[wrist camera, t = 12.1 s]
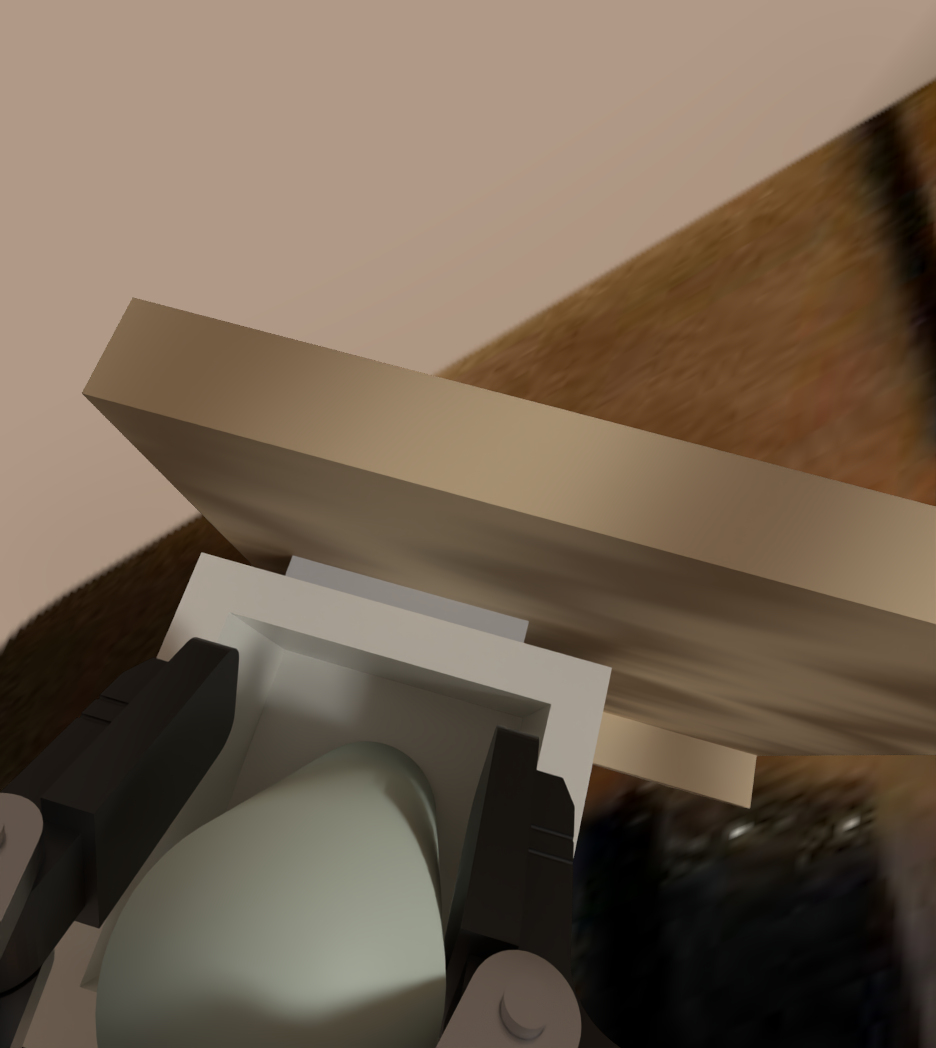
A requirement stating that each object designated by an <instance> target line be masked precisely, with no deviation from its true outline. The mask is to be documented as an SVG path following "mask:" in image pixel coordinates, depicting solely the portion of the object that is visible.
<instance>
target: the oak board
mask: <svg viewBox="0 0 936 1048" xmlns="http://www.w3.org/2000/svg"><path fill="white" fill-rule="evenodd" d="M82 394H83V395H84V396H85V397H86V398H87V399H88V400H89V401H90V402H91V403H92V404H93V405H94V406H95V407H96V408H97V409H98V410H99V411H100V412H101V413H102V414H103V415H104V416H105V417H106V418H107V419H108V420H109V421H110V422H111V423H112V424H113V425H114V426H115V427H116V428H117V429H118V430H119V431H120V432H121V433H122V434H123V435H124V436H125V437H126V438H127V439H128V440H129V441H130V442H131V443H132V444H133V445H134V446H135V447H136V448H137V449H138V450H139V451H140V452H141V453H142V454H143V455H144V456H145V457H146V458H147V459H148V460H149V461H150V462H151V463H152V464H153V465H154V466H155V467H156V468H157V469H158V470H159V471H160V472H161V473H162V474H163V475H164V476H165V477H166V478H167V479H168V480H169V481H170V483H172V485H174V487H175V488H176V489H177V490H178V491H179V492H180V493H181V494H182V495H183V496H184V497H185V498H186V499H187V500H188V501H189V502H190V503H191V504H192V505H193V506H194V507H195V508H196V509H197V510H198V511H199V512H200V513H201V514H202V515H203V516H204V517H205V518H206V519H207V520H208V521H209V522H210V523H211V524H212V525H213V526H214V527H215V528H216V529H217V530H218V531H219V532H220V533H221V534H222V535H223V536H224V537H225V538H226V539H227V540H228V541H229V542H230V543H231V544H232V545H233V546H234V547H235V548H236V549H237V550H238V551H239V552H240V553H241V554H242V555H243V556H244V557H245V558H246V559H247V560H248V561H249V562H250V563H251V564H252V565H253V566H254V567H255V568H259V569H262V570H266V571H270V572H273V573H277V574H280V575H284V576H285V575H286V572H287V569H288V567H289V564H290V561H291V559H292V556H297V557H300V558H304V559H308V560H311V561H315V562H318V563H322V564H325V565H329V566H333V567H336V568H340V569H343V570H347V571H350V572H354V573H358V574H361V575H365V576H368V577H372V578H376V579H379V580H383V581H386V582H390V583H393V584H397V585H401V586H404V587H408V588H411V589H415V590H419V591H422V592H426V593H429V594H433V595H436V596H440V597H444V598H447V599H451V600H454V601H458V602H462V603H465V604H469V605H472V606H476V607H479V608H483V609H487V610H490V611H494V612H497V613H501V614H504V615H508V616H512V617H515V618H519V619H522V620H526V621H529V623H528V627H527V631H526V635H525V639H524V643H526V644H529V645H533V646H536V647H540V648H543V649H547V650H550V651H554V652H558V653H561V654H565V655H568V656H572V657H575V658H579V659H582V660H586V661H590V662H593V663H597V664H600V665H604V666H607V667H611V668H612V670H611V675H610V680H609V685H608V690H607V695H606V700H605V704H604V709H603V714H602V719H601V724H600V729H599V734H598V739H597V744H596V749H595V754H594V759H593V764H592V765H596V766H599V767H603V768H606V769H610V770H613V771H617V772H620V773H624V774H627V775H630V776H634V777H637V778H641V779H644V780H648V781H651V782H655V783H658V784H661V785H665V786H668V787H672V788H675V789H679V790H682V791H686V792H689V793H693V794H696V795H699V796H703V797H706V798H710V799H713V800H717V801H720V802H724V803H727V804H731V805H734V806H739V807H745V808H750V803H751V795H752V788H753V780H754V772H755V764H756V756H783V755H936V507H935V506H931V505H927V504H923V503H920V502H916V501H912V500H908V499H904V498H900V497H897V496H893V495H889V494H885V493H881V492H877V491H874V490H870V489H866V488H862V487H858V486H854V485H851V484H847V483H843V482H839V481H835V480H831V479H827V478H824V477H820V476H816V475H812V474H808V473H804V472H801V471H797V470H793V469H789V468H785V467H781V466H778V465H774V464H770V463H766V462H762V461H758V460H755V459H751V458H747V457H743V456H739V455H735V454H732V453H728V452H724V451H720V450H716V449H712V448H709V447H705V446H701V445H697V444H693V443H689V442H686V441H682V440H678V439H674V438H670V437H666V436H662V435H659V434H655V433H651V432H647V431H643V430H639V429H636V428H632V427H628V426H624V425H620V424H616V423H613V422H609V421H605V420H601V419H597V418H593V417H590V416H586V415H582V414H578V413H574V412H570V411H567V410H563V409H559V408H555V407H551V406H547V405H544V404H540V403H536V402H532V401H528V400H524V399H521V398H517V397H513V396H509V395H505V394H501V393H497V392H494V391H490V390H486V389H482V388H478V387H474V386H471V385H467V384H463V383H459V382H455V381H451V380H448V379H444V378H440V377H436V376H432V375H428V374H425V373H421V372H417V371H413V370H409V369H405V368H402V367H398V366H393V365H390V364H386V363H382V362H378V361H375V360H371V359H367V358H363V357H359V356H356V355H351V354H348V353H344V352H340V351H336V350H332V349H329V348H325V347H321V346H317V345H313V344H309V343H306V342H302V341H298V340H294V339H290V338H286V337H283V336H279V335H275V334H271V333H267V332H263V331H260V330H256V329H252V328H248V327H244V326H240V325H236V324H233V323H229V322H225V321H221V320H217V319H214V318H210V317H206V316H202V315H198V314H194V313H190V312H187V311H183V310H179V309H175V308H171V307H167V306H164V305H160V304H156V303H152V302H148V301H144V300H140V299H137V298H132V300H131V302H130V304H129V306H128V307H127V309H126V311H125V313H124V315H123V317H122V319H121V321H120V323H119V324H118V326H117V328H116V330H115V332H114V334H113V336H112V338H111V340H110V341H109V343H108V345H107V347H106V349H105V351H104V353H103V355H102V356H101V358H100V360H99V362H98V364H97V366H96V368H95V370H94V371H93V373H92V375H91V377H90V379H89V381H88V383H87V385H86V387H85V388H84V390H83V392H82Z"/></svg>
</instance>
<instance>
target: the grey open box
mask: <svg viewBox="0 0 936 1048" xmlns="http://www.w3.org/2000/svg"><path fill="white" fill-rule="evenodd" d="M528 623H529V621H526V620H522V619H519V618H515V617H512V616H508V615H504V614H501V613H497V612H494V611H490V610H487V609H483V608H479V607H476V606H472V605H469V604H465V603H462V602H458V601H454V600H451V599H447V598H444V597H440V596H436V595H433V594H429V593H426V592H422V591H419V590H415V589H411V588H408V587H404V586H401V585H397V584H393V583H390V582H386V581H383V580H379V579H376V578H372V577H368V576H365V575H361V574H358V573H354V572H350V571H347V570H343V569H340V568H336V567H333V566H329V565H325V564H322V563H318V562H315V561H311V560H308V559H304V558H300V557H297V556H292V559H291V561H290V564H289V567H288V569H287V572H286V575H285V576H284V575H280V574H277V573H273V572H270V571H266V570H262V569H259V568H255V567H252V566H248V565H245V564H241V563H238V562H234V561H230V560H227V559H223V558H220V557H216V556H213V555H209V554H205V553H202V552H201V555H200V557H199V559H198V562H197V564H196V566H195V569H194V571H193V573H192V576H191V578H190V581H189V583H188V585H187V588H186V590H185V592H184V595H183V597H182V599H181V602H180V604H179V606H178V609H177V611H176V613H175V616H174V618H173V620H172V623H171V625H170V627H169V630H168V632H167V634H166V637H165V639H164V642H163V644H162V646H161V649H160V651H159V653H158V656H157V659H161V660H164V661H169V660H170V659H171V658H172V657H173V656H174V655H175V654H176V653H177V652H178V651H179V650H180V649H181V648H182V647H183V646H184V645H185V643H186V642H187V641H189V640H190V639H191V638H193V637H198V638H202V639H205V640H208V641H212V642H215V643H219V644H222V645H226V646H229V647H233V648H236V649H237V650H238V652H239V669H238V681H237V693H236V706H235V716H234V722H233V725H232V729H231V732H230V734H229V737H228V739H227V742H226V744H225V746H224V747H223V749H222V751H221V752H220V754H219V755H218V757H217V758H216V760H215V761H214V763H213V764H212V766H211V767H210V769H209V770H208V771H207V773H206V774H205V776H204V777H203V779H202V780H201V782H200V783H199V785H198V786H197V787H196V789H195V790H194V792H193V793H192V795H191V796H190V798H189V799H188V801H187V802H186V803H185V805H184V806H183V808H182V809H181V811H180V812H179V814H178V815H177V817H176V818H175V819H174V821H173V822H172V824H171V825H170V827H169V828H168V830H167V831H166V833H165V834H164V835H163V837H162V838H161V840H160V841H159V843H158V844H157V846H156V847H155V849H154V850H153V851H152V853H151V854H150V856H149V857H148V859H147V860H146V862H145V863H144V865H143V866H142V867H141V869H140V870H139V872H138V873H137V875H136V876H135V878H134V879H133V880H132V882H131V883H130V885H129V886H128V888H127V889H126V891H125V892H124V894H123V895H122V896H121V898H120V899H119V901H118V902H117V904H116V905H115V907H114V908H113V910H112V911H111V912H110V914H109V915H108V917H107V918H106V920H105V921H104V923H103V924H102V926H101V927H100V928H99V929H98V928H95V927H92V926H89V925H86V924H83V923H79V922H76V921H74V922H73V923H72V925H71V926H70V927H69V929H68V930H67V932H66V933H65V934H64V936H63V937H62V938H61V940H60V941H59V942H58V944H57V945H56V947H55V957H54V962H53V965H52V969H51V971H50V974H49V977H48V979H47V982H46V985H45V987H44V990H43V993H42V995H41V998H40V1000H39V1003H38V1006H37V1008H36V1011H35V1014H34V1016H33V1019H32V1022H31V1024H30V1027H29V1030H28V1032H27V1035H26V1038H25V1040H24V1043H23V1046H22V1047H25V1048H98V1046H97V1039H96V1020H95V1012H96V997H97V986H98V981H99V976H100V970H101V965H102V961H103V958H104V955H105V951H106V948H107V945H108V942H109V938H110V936H111V934H112V931H113V929H114V927H115V925H116V922H117V920H118V918H119V915H120V913H121V912H122V910H123V908H124V907H125V905H126V903H127V901H128V900H129V898H130V896H131V894H132V893H133V891H134V890H135V889H136V887H137V886H138V885H139V883H140V882H141V880H142V879H143V878H144V876H145V875H146V874H147V872H148V871H149V870H150V869H151V868H152V867H153V866H154V865H155V864H156V863H157V862H158V861H159V860H160V858H161V857H162V856H163V855H164V854H165V853H167V852H168V851H169V850H170V849H171V848H172V847H174V846H175V845H176V844H177V843H178V842H180V841H181V840H182V839H183V838H185V837H186V836H188V835H189V834H191V833H192V832H194V831H195V830H197V829H198V828H200V827H201V826H203V825H205V824H207V823H208V822H210V821H212V820H213V819H215V818H217V817H218V816H220V815H222V814H224V813H225V812H227V811H229V810H230V809H232V808H234V807H236V806H237V805H239V804H241V803H242V802H244V801H246V800H248V799H249V798H251V797H253V796H254V795H256V794H258V793H260V792H261V791H263V790H265V789H266V788H268V787H270V786H272V785H273V784H275V783H277V782H278V781H280V780H282V779H283V778H285V777H287V776H289V775H290V774H292V773H294V772H295V771H297V770H299V769H301V768H302V767H304V766H306V765H307V764H309V763H311V762H313V761H314V760H316V759H318V758H319V757H321V756H323V755H325V754H326V753H328V752H330V751H332V750H334V749H336V748H338V747H340V746H343V745H346V744H349V743H354V742H363V741H369V742H378V743H383V744H387V745H389V746H392V747H394V748H396V749H398V750H400V751H402V752H403V753H405V754H406V755H407V756H409V757H410V758H411V759H412V760H413V761H414V762H415V763H416V764H417V765H418V766H419V767H420V769H421V770H422V771H423V773H424V775H425V776H426V778H427V780H428V782H429V784H430V786H431V789H432V792H433V796H434V800H435V806H436V820H437V837H438V853H439V869H440V885H441V902H442V918H443V934H444V938H445V933H446V928H447V923H448V918H449V913H450V908H451V903H452V899H453V894H454V889H455V884H456V879H457V874H458V869H459V864H460V859H461V854H462V849H463V844H464V839H465V835H466V830H467V825H468V820H469V816H470V812H471V808H472V804H473V800H474V796H475V793H476V789H477V786H478V783H479V780H480V776H481V773H482V770H483V767H484V763H485V760H486V757H487V754H488V751H489V747H490V744H491V741H492V738H493V735H494V731H495V729H496V726H497V725H500V726H503V727H507V728H510V729H514V730H517V731H521V732H524V733H528V734H531V735H535V736H538V737H539V751H538V761H537V770H538V771H542V772H545V773H549V774H552V775H555V776H559V777H562V778H563V779H564V781H565V784H566V786H567V789H568V791H569V794H570V796H571V798H572V801H573V803H574V806H575V819H574V838H573V842H574V853H575V848H576V843H577V838H578V833H579V828H580V823H581V818H582V813H583V808H584V803H585V798H586V794H587V789H588V784H589V779H590V774H591V769H592V764H593V759H594V754H595V749H596V744H597V739H598V734H599V729H600V724H601V719H602V714H603V709H604V704H605V700H606V695H607V690H608V685H609V680H610V675H611V670H612V668H611V667H607V666H604V665H600V664H597V663H593V662H590V661H586V660H582V659H579V658H575V657H572V656H568V655H565V654H561V653H558V652H554V651H550V650H547V649H543V648H540V647H536V646H533V645H529V644H526V643H524V639H525V635H526V631H527V627H528ZM573 858H574V854H573ZM439 1041H440V1038H439V1039H438V1042H437V1045H438V1043H439ZM437 1045H436V1046H437Z"/></svg>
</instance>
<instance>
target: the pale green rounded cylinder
mask: <svg viewBox="0 0 936 1048" xmlns="http://www.w3.org/2000/svg"><path fill="white" fill-rule="evenodd" d="M445 994H446V970H445V950H444V934H443V918H442V902H441V885H440V869H439V853H438V837H437V820H436V806H435V800H434V796H433V792H432V789H431V786H430V784H429V782H428V780H427V778H426V776H425V775H424V773H423V771H422V770H421V769H420V767H419V766H418V765H417V764H416V763H415V762H414V761H413V760H412V759H411V758H410V757H409V756H407V755H406V754H405V753H403V752H402V751H400V750H398V749H396V748H394V747H392V746H389V745H387V744H383V743H378V742H369V741H363V742H354V743H349V744H346V745H343V746H340V747H338V748H336V749H334V750H332V751H330V752H328V753H326V754H325V755H323V756H321V757H319V758H318V759H316V760H314V761H313V762H311V763H309V764H307V765H306V766H304V767H302V768H301V769H299V770H297V771H295V772H294V773H292V774H290V775H289V776H287V777H285V778H283V779H282V780H280V781H278V782H277V783H275V784H273V785H272V786H270V787H268V788H266V789H265V790H263V791H261V792H260V793H258V794H256V795H254V796H253V797H251V798H249V799H248V800H246V801H244V802H242V803H241V804H239V805H237V806H236V807H234V808H232V809H230V810H229V811H227V812H225V813H224V814H222V815H220V816H218V817H217V818H215V819H213V820H212V821H210V822H208V823H207V824H205V825H203V826H201V827H200V828H198V829H197V830H195V831H194V832H192V833H191V834H189V835H188V836H186V837H185V838H183V839H182V840H181V841H180V842H178V843H177V844H176V845H175V846H174V847H172V848H171V849H170V850H169V851H168V852H167V853H165V854H164V855H163V856H162V857H161V858H160V860H159V861H158V862H157V863H156V864H155V865H154V866H153V867H152V868H151V869H150V870H149V871H148V872H147V874H146V875H145V876H144V878H143V879H142V880H141V882H140V883H139V885H138V886H137V887H136V889H135V890H134V891H133V893H132V894H131V896H130V898H129V900H128V901H127V903H126V905H125V907H124V908H123V910H122V912H121V913H120V915H119V918H118V920H117V922H116V925H115V927H114V929H113V931H112V934H111V936H110V938H109V942H108V945H107V948H106V951H105V955H104V958H103V961H102V965H101V970H100V976H99V981H98V986H97V997H96V1012H95V1020H96V1039H97V1046H98V1048H436V1045H437V1042H438V1039H439V1035H440V1030H441V1025H442V1020H443V1014H444V1007H445Z"/></svg>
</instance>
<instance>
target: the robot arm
mask: <svg viewBox="0 0 936 1048" xmlns="http://www.w3.org/2000/svg"><path fill="white" fill-rule="evenodd" d="M238 669H239V652H238V650H237V649H236V648H233V647H229V646H226V645H222V644H219V643H215V642H212V641H208V640H205V639H202V638H198V637H193V638H191V639H190V640H189V641H187V642H186V643H185V645H184V646H183V647H182V648H181V649H180V650H179V651H178V652H177V653H176V654H175V655H174V656H173V657H172V658H171V659H170V660H169V661H164V660H161V659H157V658H154V657H153V658H151V659H149V660H147V661H145V662H143V663H141V664H139V665H137V666H135V667H133V668H131V669H129V670H127V671H125V672H123V673H122V674H121V675H120V676H119V677H118V678H117V679H116V680H115V681H114V682H112V683H111V684H110V685H109V686H108V687H107V688H106V689H105V690H104V691H103V692H102V693H101V694H100V697H99V699H98V700H97V699H95V700H94V701H93V702H92V703H91V704H90V705H89V706H88V707H87V708H86V709H85V710H84V711H83V712H82V713H81V716H80V718H76V719H75V720H74V721H73V722H72V723H71V724H70V725H69V726H68V727H67V728H66V729H65V730H64V731H62V732H61V733H60V734H59V735H58V736H57V737H56V738H55V739H54V740H53V741H52V742H51V743H50V744H49V745H48V746H47V747H46V748H45V749H44V750H43V751H42V752H41V753H40V754H39V755H38V756H37V757H36V758H35V759H34V760H33V761H32V762H31V763H30V764H29V765H28V766H27V767H26V768H25V769H24V770H23V771H22V772H21V773H20V774H19V775H18V776H17V777H16V778H15V779H13V780H12V781H11V782H10V783H9V784H8V785H7V786H6V787H5V788H4V789H3V790H2V791H1V792H0V1048H22V1046H23V1043H24V1040H25V1038H26V1035H27V1032H28V1030H29V1027H30V1024H31V1022H32V1019H33V1016H34V1014H35V1011H36V1008H37V1006H38V1003H39V1000H40V998H41V995H42V993H43V990H44V987H45V985H46V982H47V979H48V977H49V974H50V971H51V969H52V965H53V962H54V957H55V947H56V945H57V944H58V942H59V941H60V940H61V938H62V937H63V936H64V934H65V933H66V932H67V930H68V929H69V927H70V926H71V925H72V923H73V922H74V921H76V922H79V923H83V924H86V925H89V926H92V927H95V928H98V929H99V928H100V927H101V926H102V924H103V923H104V921H105V920H106V918H107V917H108V915H109V914H110V912H111V911H112V910H113V908H114V907H115V905H116V904H117V902H118V901H119V899H120V898H121V896H122V895H123V894H124V892H125V891H126V889H127V888H128V886H129V885H130V883H131V882H132V880H133V879H134V878H135V876H136V875H137V873H138V872H139V870H140V869H141V867H142V866H143V865H144V863H145V862H146V860H147V859H148V857H149V856H150V854H151V853H152V851H153V850H154V849H155V847H156V846H157V844H158V843H159V841H160V840H161V838H162V837H163V835H164V834H165V833H166V831H167V830H168V828H169V827H170V825H171V824H172V822H173V821H174V819H175V818H176V817H177V815H178V814H179V812H180V811H181V809H182V808H183V806H184V805H185V803H186V802H187V801H188V799H189V798H190V796H191V795H192V793H193V792H194V790H195V789H196V787H197V786H198V785H199V783H200V782H201V780H202V779H203V777H204V776H205V774H206V773H207V771H208V770H209V769H210V767H211V766H212V764H213V763H214V761H215V760H216V758H217V757H218V755H219V754H220V752H221V751H222V749H223V747H224V746H225V744H226V742H227V739H228V737H229V734H230V732H231V729H232V725H233V722H234V716H235V706H236V693H237V681H238ZM538 751H539V737H538V736H535V735H531V734H528V733H524V732H521V731H517V730H514V729H510V728H507V727H503V726H500V725H497V726H496V729H495V731H494V735H493V738H492V741H491V744H490V747H489V751H488V754H487V757H486V760H485V763H484V767H483V770H482V773H481V776H480V780H479V783H478V786H477V789H476V793H475V796H474V800H473V804H472V808H471V812H470V816H469V820H468V825H467V830H466V835H465V839H464V844H463V849H462V854H461V859H460V864H459V869H458V874H457V879H456V884H455V889H454V894H453V899H452V903H451V908H450V913H449V918H448V923H447V928H446V933H445V938H444V950H445V970H446V994H445V1007H444V1014H443V1020H442V1025H441V1030H440V1035H439V1038H440V1041H439V1043H438V1045H437V1046H436V1048H620V1047H619V1046H617V1045H616V1044H615V1043H613V1042H612V1041H611V1040H610V1039H608V1038H607V1037H606V1036H605V1035H604V1034H603V1033H602V1032H601V1031H600V1030H599V1029H598V1028H597V1027H596V1025H595V1024H594V1023H593V1022H592V1020H591V1019H590V1018H589V1016H588V1015H587V1013H586V1011H585V1010H584V1008H583V1006H582V1005H581V1002H580V1000H579V998H578V996H577V994H576V991H575V987H574V984H573V980H572V975H571V962H570V959H571V924H572V889H573V867H572V864H573V854H574V842H573V838H574V819H575V806H574V803H573V801H572V798H571V796H570V794H569V791H568V789H567V786H566V784H565V781H564V779H563V778H562V777H559V776H555V775H552V774H549V773H545V772H542V771H538V770H537V761H538Z"/></svg>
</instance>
